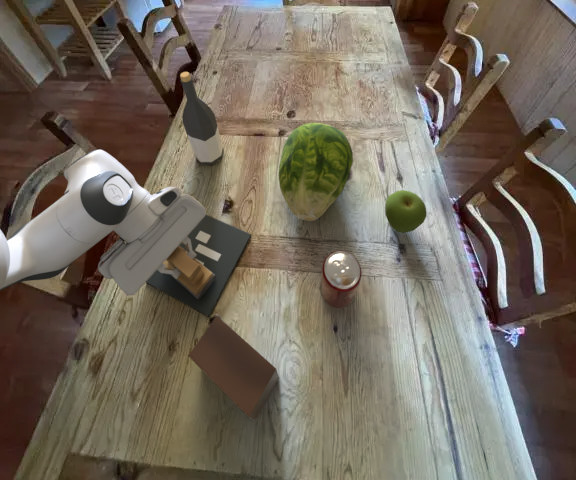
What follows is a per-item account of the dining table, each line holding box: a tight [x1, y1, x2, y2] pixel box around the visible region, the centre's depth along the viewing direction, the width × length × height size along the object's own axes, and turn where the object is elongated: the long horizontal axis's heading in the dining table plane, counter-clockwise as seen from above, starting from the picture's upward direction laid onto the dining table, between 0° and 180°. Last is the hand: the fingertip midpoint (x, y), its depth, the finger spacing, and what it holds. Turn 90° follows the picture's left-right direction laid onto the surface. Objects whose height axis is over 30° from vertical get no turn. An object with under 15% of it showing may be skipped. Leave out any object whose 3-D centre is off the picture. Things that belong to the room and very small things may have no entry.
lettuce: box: [278, 122, 354, 222], centre depth 83 cm, size 18×23×19 cm
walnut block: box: [187, 315, 280, 422], centre depth 58 cm, size 7×13×11 cm, turn 55°
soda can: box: [319, 249, 363, 309], centre depth 67 cm, size 7×7×12 cm
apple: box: [384, 189, 427, 234], centre depth 77 cm, size 9×8×12 cm
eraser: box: [163, 245, 216, 300], centre depth 70 cm, size 5×11×8 cm, turn 55°
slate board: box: [145, 214, 252, 318], centre depth 76 cm, size 18×16×1 cm
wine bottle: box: [179, 71, 224, 166], centre depth 87 cm, size 8×8×30 cm
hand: (186, 266), depth 70 cm, fingers closed on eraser, 3 cm apart
